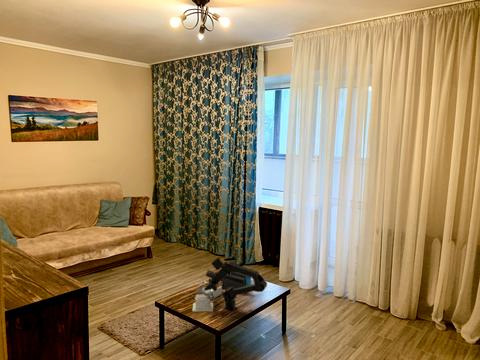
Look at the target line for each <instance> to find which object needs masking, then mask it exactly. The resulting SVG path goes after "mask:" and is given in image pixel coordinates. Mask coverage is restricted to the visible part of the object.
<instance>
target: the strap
mask: <svg viewBox="0 0 480 360" xmlns="http://www.w3.org/2000/svg"><path fill="white" fill-rule="evenodd" d="M200 289H201V288H197V289H196V290H197V293H198V292H200V293H201V294H203V295H205V296H207V297H209V298H210V294H208V293H206V292H204V291H202V290H200ZM210 299H211V298H210Z"/></svg>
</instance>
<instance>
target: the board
mask: <svg viewBox="0 0 480 360" xmlns="http://www.w3.org/2000/svg"><path fill="white" fill-rule="evenodd" d="M192 304H193V305H192V312H194V313H195V312H196V313H198V312H200V313H201V312H213V311H214V302H210V309H196V302H193V303H192Z"/></svg>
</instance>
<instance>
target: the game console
mask: <svg viewBox="0 0 480 360" xmlns="http://www.w3.org/2000/svg"><path fill="white" fill-rule="evenodd" d="M220 282H221V284H222V285H221V286H222V290H226V289H227V288H228V287H232V286H233V288H240V287H244V286H248V285H252V277H249V276H246V275H244V274H241V273H238V272H231V275H230V276H229V275H228V274H227V275H226V276H225V277H224V278H223V280H222V281H220ZM245 294H246V293H243V294H241V295H242V296H243V295H245Z"/></svg>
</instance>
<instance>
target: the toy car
mask: <svg viewBox="0 0 480 360" xmlns="http://www.w3.org/2000/svg"><path fill="white" fill-rule="evenodd" d="M197 284H198V285H199V286H201V288H199V289H200V290H202V291H204V292H206V293H208V294H210V300H212V301H215V299H216V298H217V297H219V296H221V295H222V296H223V292H224V291H223V289H222V285H220V286H217V290H216V291H214V290H213V289H209V290H206V291H205V290H204V289H205V288H206V286H207V284H208V282H207V281H203V280H201V281H200V280H199V281H198V283H197ZM203 284H204V286H203ZM197 295H202V294H201V293H200V292H198V291H197Z"/></svg>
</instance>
